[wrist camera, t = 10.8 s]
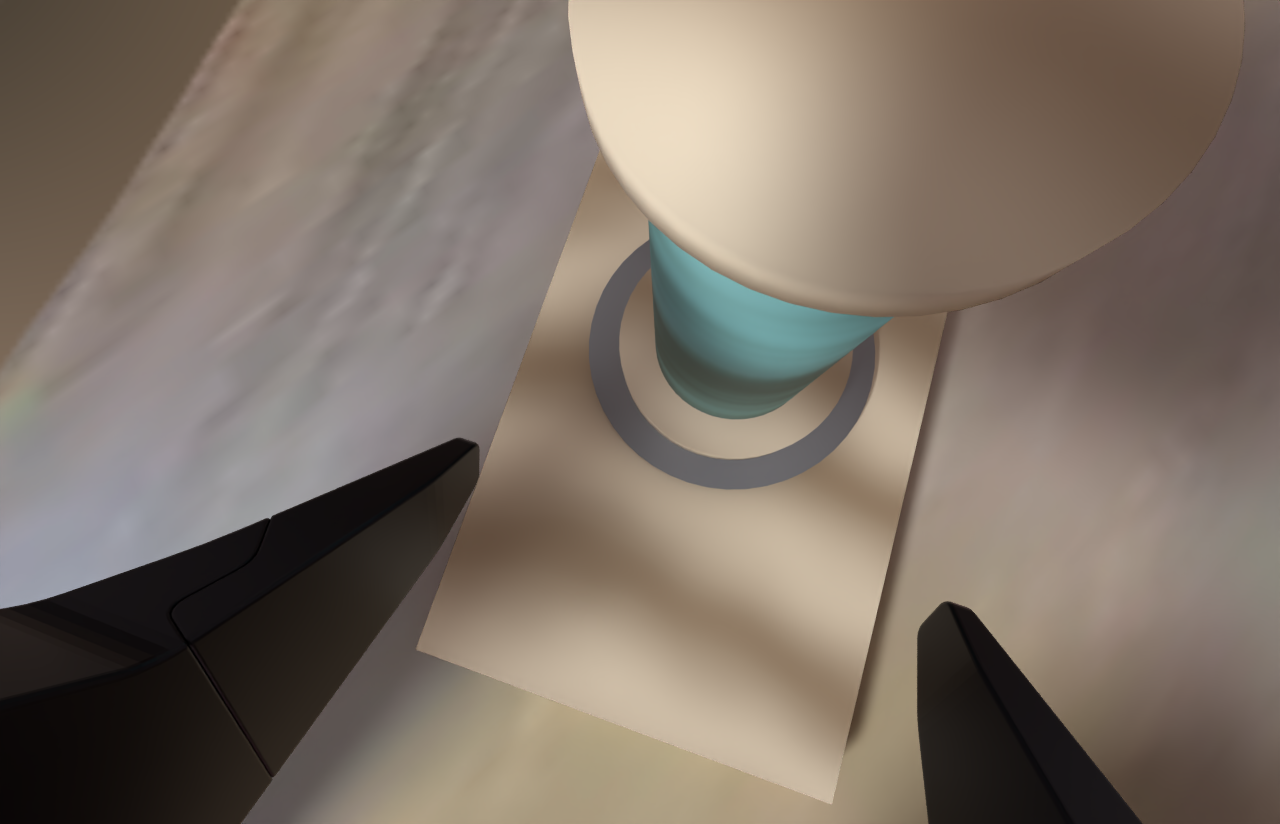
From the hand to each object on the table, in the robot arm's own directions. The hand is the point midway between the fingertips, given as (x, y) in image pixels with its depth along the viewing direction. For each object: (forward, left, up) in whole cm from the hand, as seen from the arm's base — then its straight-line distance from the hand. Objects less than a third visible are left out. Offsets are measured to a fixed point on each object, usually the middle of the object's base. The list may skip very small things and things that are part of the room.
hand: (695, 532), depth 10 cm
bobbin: (+6, 0, -7) cm, 10 cm away
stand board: (+3, 0, -9) cm, 10 cm away
